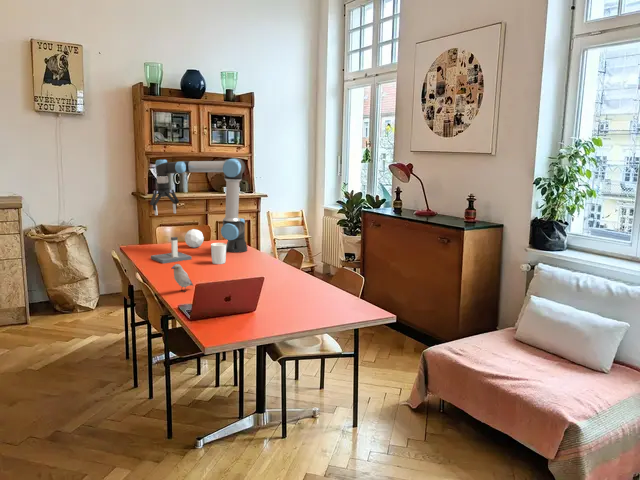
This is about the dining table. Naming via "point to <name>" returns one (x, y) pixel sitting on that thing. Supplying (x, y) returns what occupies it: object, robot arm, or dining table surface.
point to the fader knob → (174, 246)
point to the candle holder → (218, 253)
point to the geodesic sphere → (194, 238)
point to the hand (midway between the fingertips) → (165, 214)
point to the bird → (181, 276)
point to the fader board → (170, 257)
